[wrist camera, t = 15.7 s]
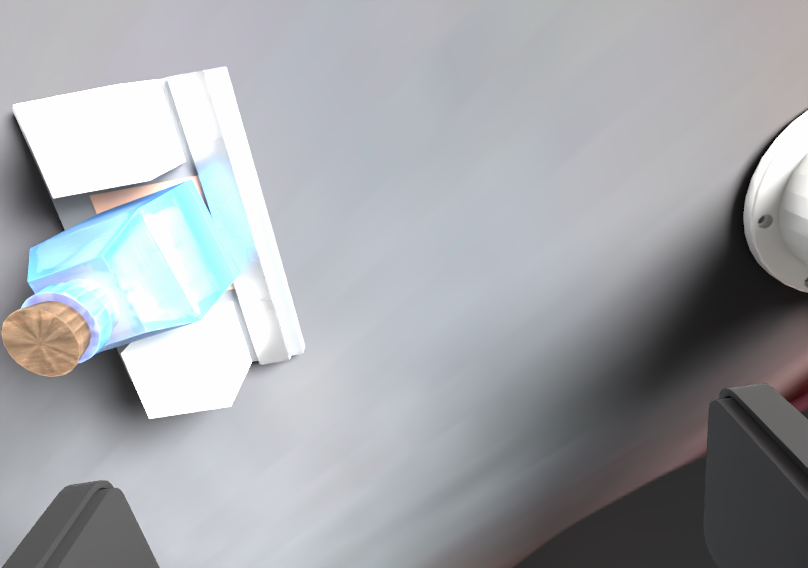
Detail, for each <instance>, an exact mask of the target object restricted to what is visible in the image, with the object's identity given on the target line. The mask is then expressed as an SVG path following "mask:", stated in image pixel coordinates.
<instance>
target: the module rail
mask: <svg viewBox="0 0 808 568" xmlns="http://www.w3.org/2000/svg"><path fill="white" fill-rule="evenodd" d="M13 106H14V107H13V108H12V110H13V112H14V115H15V117H16V119H17V122H18V124H19V126H20V128H21V131H22V133H23V135H24V138H25V140H26V142H27V145H28V147H29V149H30V151H31V154H32V156H33V158H34V161H35V163H36V165H37V167H38V170H39V172H40V174H41V177H42V179H43V181H44V184H45V186H46V188H47V190H48V193H49V195H50V197H51V200H52V202H53V204H54V206H55V209H56V211H57V213H58V216H59V218H60V220H61V223H62V225H63V227H64V229H65V230H67V229H69V228H71V227H73V226H75V225H77V224H79V223H81V222H83V221H85V220H87V219H89V218H91V217H93V216H95V215H97V214H99V213H101V212H103V211H106V210H109V209H111V208H114V207H117V206H119V205H122V204H125V203H128V202H130V201H133V200H136V199H138V198H141V197H144V196H147V195H149V194H152V193H155V192H157V191H160V190H163V189H165V188H168V187H171V186H174V185H176V184H179V183H182V182H184V181H187V180H190V179H192V180H193V182H194V184H195V186H196V188H197V190H198V192H199V194H200V196H201V198H202V200H203V202H204V204H205V205H206V207H207V209H208V211H209V213H210V215H211V217H212V219H213V221H214V223H215V225H216V227H217V229H218V231H219V233H220V235H221V237H222V239H223V241H224V243H225V245H226V247H227V249H228V251H229V253H230V255H231V257H232V259H233V261H234V263H235V265H236V267H237V269H238V271H239V273H240V275H239V276H238V277H237V278H236V279H235V280H234V282H233V283H232V284H231V285H230V286H229V288H228V289H227V290H226V291H225V292H224V293H223V295H222V296H221V297H220V298H219V299H218V301H217V302H216V303H215V304H214V305H213V306H212V308H211V309H210V310H209V311H208V312H207V314H206V315H205V316H204V317H203V318H202V319H201V321H198V322H195V323H192V324H189V325H185V326H182V327H179V328H176V329H173V330H169V331H166V332H163V333H160V334H157V335H154V336H150V337H147V338H144V339H141V340H138V341H135V342H131V343H128V344H125V345H122V346H119V347H116V349H117V351H118V353H119V356H120V358H121V360H122V362H123V365H124V367H125V369H126V372H127V374H128V376H129V378H130V381H133V383H134V385H135V387H136V390H137V392H138V394H139V397H140V399H141V401H142V404H143V406H144V408H145V410H146V413H147V415H148V417H149V419H152V418H158V417H165V416H171V415H178V414H184V413H191V412H197V411H204V410H210V409H217V408H223V407H230V406H231V405H232V403H233V401H234V399H235V397H236V394H237V392H238V390H239V388H240V386H241V384H242V382H243V380H244V378H245V375H246V373H247V371H248V369H249V367H250V365H251V363H252V362H254V361H259V363H260V365H263V364H269V363H275V362H281V361H288V360H290V358H291V355H298V354H303V352H304V349H305V343H304V340H303V336H302V333H301V329H300V325H299V322H298V318H297V315H296V311H295V308H294V304H293V301H292V297H291V294H290V290H289V286H288V283H287V279H286V276H285V272H284V269H283V265H282V262H281V258H280V255H279V251H278V247H277V244H276V240H275V237H274V233H273V230H272V226H271V223H270V219H269V216H268V212H267V209H266V205H265V201H264V198H263V194H262V191H261V187H260V184H259V180H258V177H257V173H256V170H255V166H254V162H253V159H252V155H251V152H250V148H249V145H248V141H247V138H246V134H245V131H244V127H243V123H242V120H241V116H240V113H239V109H238V106H237V102H236V99H235V95H234V92H233V88H232V84H231V81H230V77H229V74H228V70H227V67H219V68H214V69H209V70H202V71H197V72H192V73H187V74H181V75H176V76H171V77H167V78H162V79H157V80H149V81H141V82H133V83H125V84H118V85H112V86H106V87H101V88H96V89H91V90H86V91H81V92H76V93H71V94H65V95H60V96H55V97H50V98H45V99H40V100H35V101H29V102H24V103H19V104H14V105H13Z"/></svg>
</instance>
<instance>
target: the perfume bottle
mask: <svg viewBox="0 0 808 568" xmlns="http://www.w3.org/2000/svg"><path fill="white" fill-rule="evenodd" d="M239 275H240V273H239V271H238V269H237V267H236V265H235V263H234V261H233V259H232V257H231V255H230V253H229V251H228V249H227V247H226V245H225V243H224V241H223V239H222V237H221V235H220V233H219V231H218V229H217V227H216V225H215V223H214V221H213V219H212V217H211V215H210V213H209V211H208V209H207V207H206V205H205V204H204V202H203V200H202V198H201V196H200V194H199V192H198V190H197V188H196V186H195V184H194V182H193V180H192V179H190V180H187V181H184V182H182V183H179V184H176V185H174V186H171V187H168V188H165V189H163V190H160V191H157V192H155V193H152V194H149V195H147V196H144V197H141V198H138V199H136V200H133V201H130V202H128V203H125V204H122V205H119V206H117V207H114V208H111V209H109V210H106V211H103V212H101V213H99V214H97V215H95V216H93V217H91V218H89V219H87V220H85V221H83V222H81V223H79V224H77V225H75V226H73V227H71V228H69V229H67V230H65V231H63V232H61V233H59V234H57V235H55V236H53V237H51V238H50V239H48V240H46V241H44V242H42V243H40V244H38V245H36V246H34V247H32V248H30V257H29V269H28V280H27V282H28V283H29V285H30V286H31V288H32V289H33V291H34V292H35V294H34V295H33V296H31V297H30V298H28V299H27V300H26V301H25V302H24V304H23V305H22V307H21V309H19V310H17V311H15V312H13V313H11V314H10V315H8V317H7V318H6V320H5V321H4V322H3V326H2V331H1V334H2V339H3V344H4V346H5V347H6V349H7V351H8V353H9V354H10V356H11V357H12V358H13V359H14V360H15V361H16V362H17V363H18V364H19V365H21V366H22V367H24V368H25V369H27V370H28V371H31V372H33V373H36V374H38V375H42V376H49V377H55V376H62V375H64V374H66V373H68V372H70V371H72V370H73V368H74V367H75V366H76V365H77V364H78V363H82V362H84V361H86V360H88V359H90V358H91V357H92V356H94V355H95V354H96V353H100V352H103V351H106V350H109V349H112V348H115V347H119V346H122V345H125V344H128V343H131V342H135V341H138V340H141V339H144V338H147V337H150V336H154V335H157V334H160V333H163V332H166V331H169V330H173V329H176V328H179V327H182V326H185V325H189V324H192V323H195V322H198V321H201V319H202V318H203V317H204V316H205V315H206V314H207V312H208V311H209V310H210V309H211V308H212V306H213V305H214V304H215V303H216V302H217V301H218V299H219V298H220V297H221V296H222V295H223V293H224V292H225V291H226V290H227V289H228V288H229V286H230V285H231V284H232V283H233V282H234V280H235V279H236V278H237V277H238V276H239Z"/></svg>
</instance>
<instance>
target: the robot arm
mask: <svg viewBox="0 0 808 568" xmlns="http://www.w3.org/2000/svg"><path fill="white" fill-rule="evenodd" d="M743 218H744V230H745V236H746V239H747V242H748V245H749V249H750V251H751V252H752V254H753V256H754V257H755V259H756V261H757V262H758V264H759V265H760V266H761V267H762V268H763V269H764V270H766V271H767V272H768V273H769V274H770V275H771V276H773V277H775V278H776V279H778V280H779V281H781V282H782V283H784V284H786V285H788V286H790V287H792V288H795V289H797V290H799V291H803V292H808V111H806V112H805V113H804V114H802V115H801V116H800V117H798V118H797V119H796V120H794V121H793V122H792V123H791V124H790V125H789V126H788V127H787V128H786V129H785V130H784V131H783V132H782V133H781V134H780V135H779V136H778V137H777V138H776V139H775V141H774V142H773V143H772V145H771V146H770V148H769V149H768V150H767V152H766V153H765V154H764V156H763V157H762V159H761V161H760V163H759V165H758V167H757V169H756V170H755V172H754V174H753V176H752V179H751V182H750V185H749V188H748V191H747V194H746V199H745V207H744V215H743ZM703 531H704V538H705V541H706V545H707V547H708V550H709V552H710V554H711V556H712V558H713V559H714V561H715V563H716V564H717V566H718V568H808V420H807V419H806V418H805V417H804V416H803V415H802V414H801V413H800V412H799V411H798V410H797V409H796V408H794V407H793V406H792V405H791V404H790V403H789V402H788V401H787V400H786V399H785V398H783V397H782V396H781V395H780V394H779V393H778V392H777V391H776V390H775V389H774V388H772V387H771V386H769V385H768V384H765V383H758V384H751V385H744V386H738V387H731V388H725V389H723V390H722V391H721V393H720V395H719V399H718V400H713V401H711V403H710V406H709V419H708V440H707V461H706V484H705V504H704V526H703ZM2 568H159V566H158V564H157V562H156V560H155V557H154V555H153V553H152V551H151V549H150V547H149V545H148V543H147V541H146V539H145V537H144V535H143V533H142V531H141V529H140V527H139V525H138V523H137V521H136V519H135V516H134V514H133V512H132V510H131V508H130V506H129V504H128V502H127V500H126V498H125V496H124V494H123V493H122V491H121V490H120V489H118V488H114V487H113V486H112V484H111V483H109V482H108V481H102V480H101V481H94V482H87V483H81V484H74V485H69V486H67V487H65V488H64V489H63V490H62V491H61V492H60V493H59V494H58V495H57V496H56V498H55V499H54V500H53V502H52V503H51V504H50V505H49V507H48V508H47V509H46V511H45V512H44V513H43V515H42V516H41V517H40V519H39V520H38V521H37V522H36V524H35V525H34V526H33V528H32V529H31V530H30V532H29V533H28V534H27V535H26V537H25V538H24V539H23V541H22V542H21V543H20V545H19V546H18V547H17V548H16V550H15V551H14V552H13V554H12V555H11V556H10V558H9V559H8V560H7V562H6V563H5V564H4V565H3V567H2Z"/></svg>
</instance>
